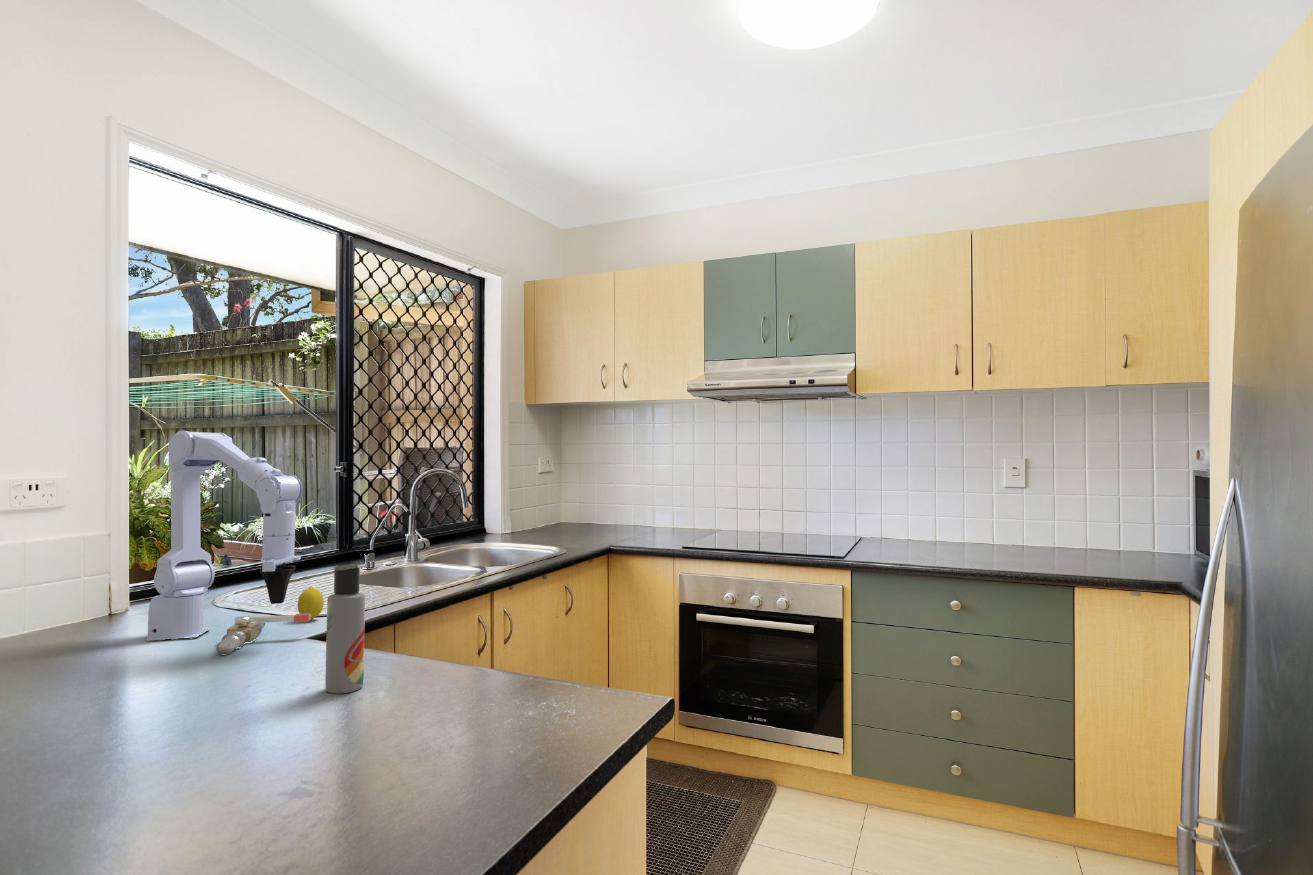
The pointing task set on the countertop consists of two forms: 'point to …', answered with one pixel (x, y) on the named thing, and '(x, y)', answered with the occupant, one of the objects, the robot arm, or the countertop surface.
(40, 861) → the countertop surface
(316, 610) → the lemon
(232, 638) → the valve
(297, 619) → the lever
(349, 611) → the lotion bottle
